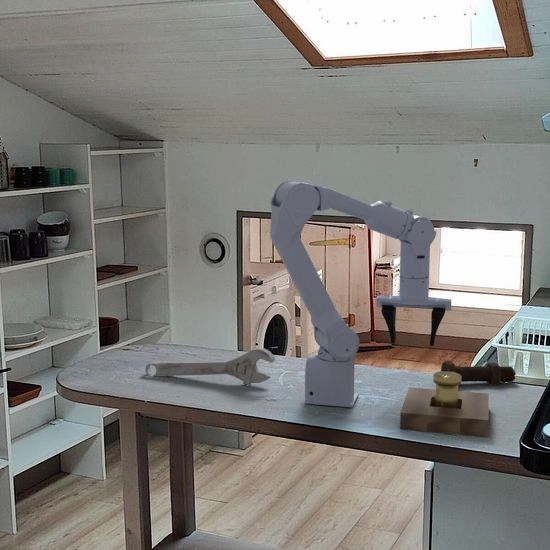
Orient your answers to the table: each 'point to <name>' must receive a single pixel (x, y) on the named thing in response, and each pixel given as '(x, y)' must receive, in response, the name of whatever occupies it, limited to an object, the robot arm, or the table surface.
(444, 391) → the brass pin
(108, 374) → the table surface
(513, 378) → the bolt
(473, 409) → the socket plate
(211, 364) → the wrench
